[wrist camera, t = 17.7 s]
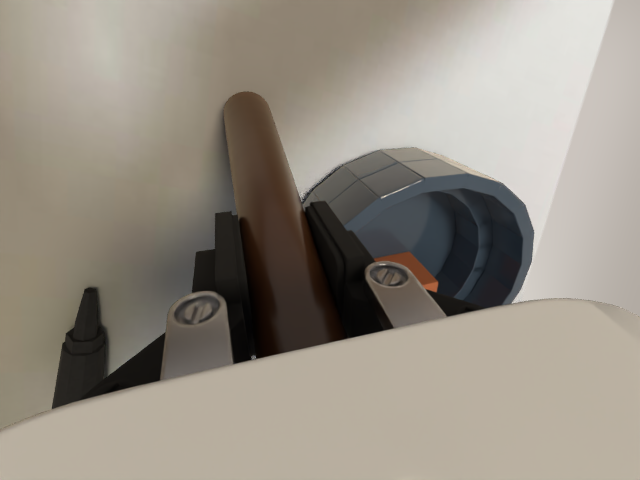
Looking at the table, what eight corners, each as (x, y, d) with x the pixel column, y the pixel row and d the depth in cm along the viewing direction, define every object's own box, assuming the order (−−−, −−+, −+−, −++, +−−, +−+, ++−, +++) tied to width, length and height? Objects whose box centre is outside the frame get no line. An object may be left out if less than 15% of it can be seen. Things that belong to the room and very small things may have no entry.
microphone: (118, 263, 23) (92, 460, 29) (11, 278, 18) (5, 511, 24) (160, 301, 21) (122, 509, 27) (48, 329, 16) (32, 576, 22)
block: (409, 251, 25) (438, 281, 22) (404, 291, 27) (430, 324, 24) (361, 260, 24) (383, 293, 21) (359, 301, 26) (380, 337, 23)
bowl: (493, 138, 23) (571, 162, 18) (449, 306, 31) (494, 355, 26) (272, 155, 19) (292, 192, 14) (287, 340, 27) (303, 405, 22)
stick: (261, 84, 16) (353, 352, 7) (276, 127, 18) (362, 383, 9) (215, 99, 16) (246, 389, 7) (234, 141, 18) (278, 412, 9)
